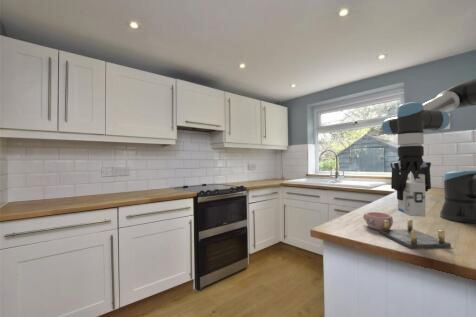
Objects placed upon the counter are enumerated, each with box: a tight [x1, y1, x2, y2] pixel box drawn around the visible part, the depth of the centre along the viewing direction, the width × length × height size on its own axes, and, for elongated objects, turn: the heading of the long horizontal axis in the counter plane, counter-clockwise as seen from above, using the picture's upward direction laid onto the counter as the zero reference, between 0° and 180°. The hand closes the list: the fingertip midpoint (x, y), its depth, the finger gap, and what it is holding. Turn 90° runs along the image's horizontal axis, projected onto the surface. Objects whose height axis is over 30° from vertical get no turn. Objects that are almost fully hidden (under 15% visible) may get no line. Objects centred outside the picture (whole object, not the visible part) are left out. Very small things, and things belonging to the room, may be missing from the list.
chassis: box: [378, 219, 452, 249], centre depth 81 cm, size 14×15×5 cm
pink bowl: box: [362, 211, 394, 231], centre depth 95 cm, size 12×10×6 cm
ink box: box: [397, 172, 426, 218], centre depth 81 cm, size 9×5×15 cm, turn 169°
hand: (411, 208), depth 80 cm, fingers closed on ink box, 6 cm apart
